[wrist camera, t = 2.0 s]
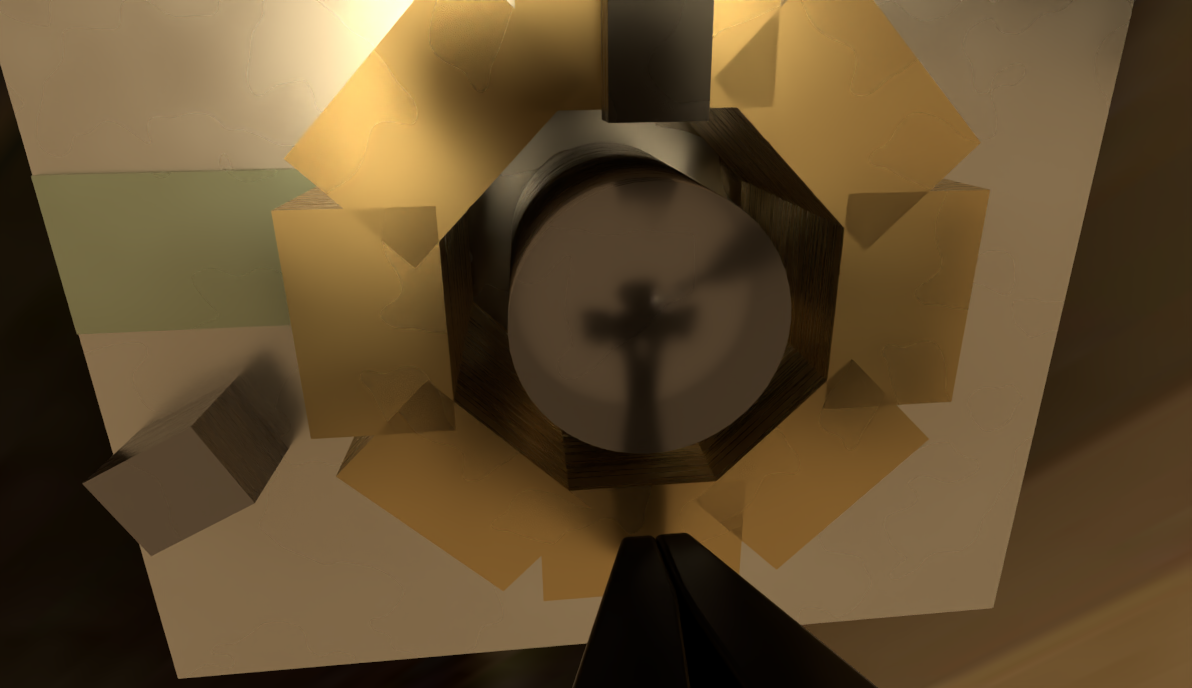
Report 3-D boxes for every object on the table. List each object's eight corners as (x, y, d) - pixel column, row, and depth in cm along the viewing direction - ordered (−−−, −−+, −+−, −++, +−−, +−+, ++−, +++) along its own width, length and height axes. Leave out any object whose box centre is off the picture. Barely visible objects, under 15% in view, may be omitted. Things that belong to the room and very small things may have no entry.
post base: (1159, -365, 11) (1807, -812, 6) (962, 573, 17) (1171, 807, 12) (-80, -424, 9) (-945, -1148, 4) (201, 636, 16) (30, 940, 10)
